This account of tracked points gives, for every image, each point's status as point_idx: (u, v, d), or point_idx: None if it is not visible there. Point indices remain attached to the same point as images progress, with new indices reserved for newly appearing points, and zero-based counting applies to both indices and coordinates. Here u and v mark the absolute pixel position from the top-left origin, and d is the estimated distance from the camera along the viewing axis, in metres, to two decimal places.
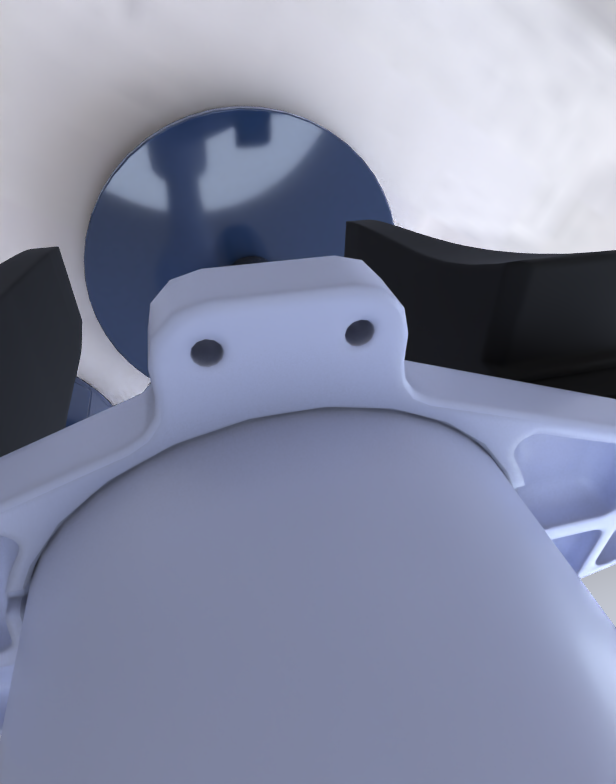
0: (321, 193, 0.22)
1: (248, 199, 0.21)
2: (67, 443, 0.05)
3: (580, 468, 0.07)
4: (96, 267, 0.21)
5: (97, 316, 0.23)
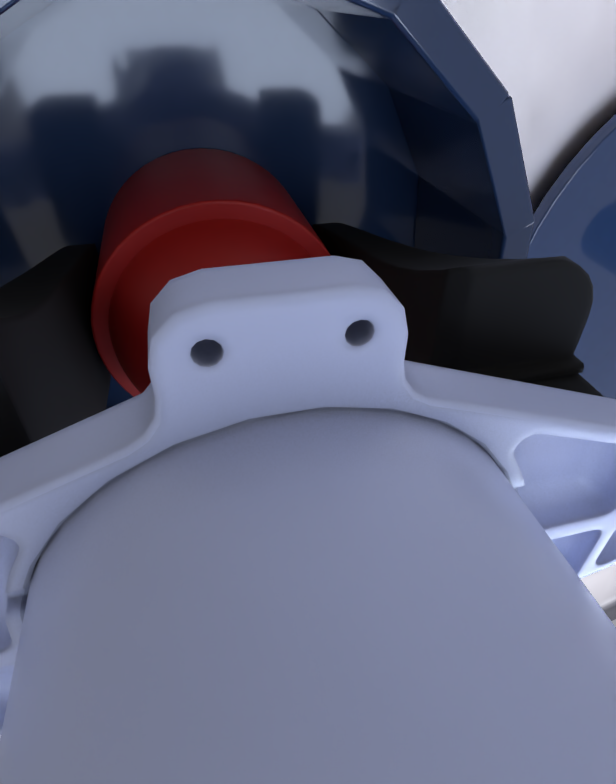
0: None
1: None
2: (66, 444, 0.05)
3: (580, 468, 0.07)
4: None
5: (580, 168, 0.14)
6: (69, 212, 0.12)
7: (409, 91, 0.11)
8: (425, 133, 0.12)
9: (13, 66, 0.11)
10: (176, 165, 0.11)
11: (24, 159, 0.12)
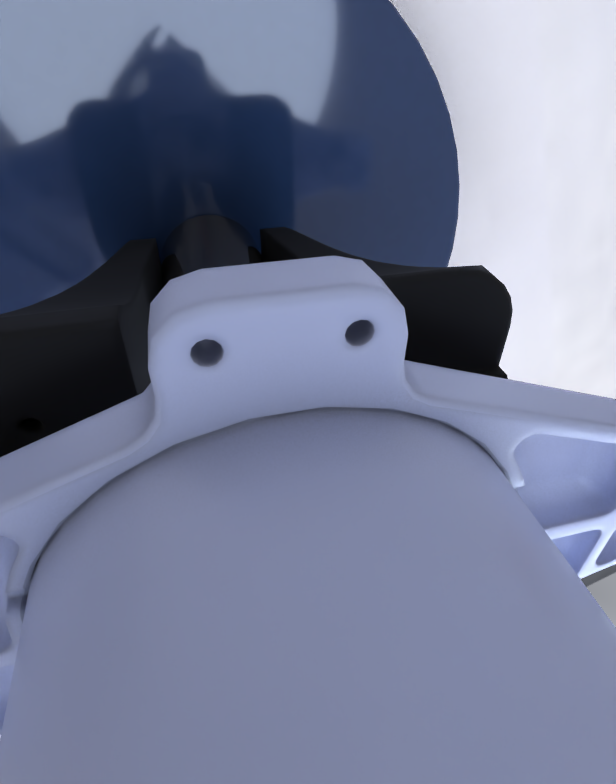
0: (387, 218, 0.14)
1: (302, 144, 0.12)
2: (66, 443, 0.05)
3: (580, 468, 0.07)
4: None
5: None
6: None
7: None
8: None
9: None
10: None
11: None
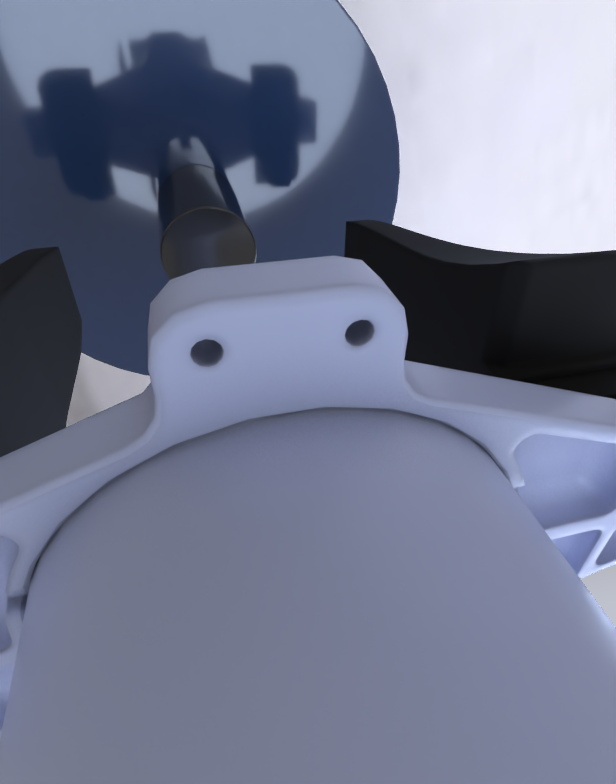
0: (341, 172, 0.17)
1: (268, 108, 0.16)
2: (67, 443, 0.05)
3: (580, 468, 0.07)
4: (8, 8, 0.13)
5: None
6: None
7: None
8: None
9: None
10: None
11: None
